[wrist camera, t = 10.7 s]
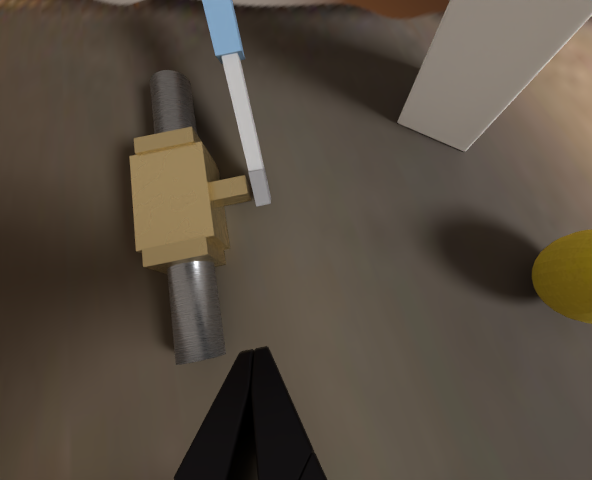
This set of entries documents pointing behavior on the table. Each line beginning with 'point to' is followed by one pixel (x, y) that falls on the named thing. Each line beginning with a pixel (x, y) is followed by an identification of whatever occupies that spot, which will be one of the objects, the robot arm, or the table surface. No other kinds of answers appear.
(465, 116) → the milk
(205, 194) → the valve
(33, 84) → the table surface
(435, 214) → the table surface
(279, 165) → the table surface
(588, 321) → the lemon
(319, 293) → the table surface
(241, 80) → the lever
